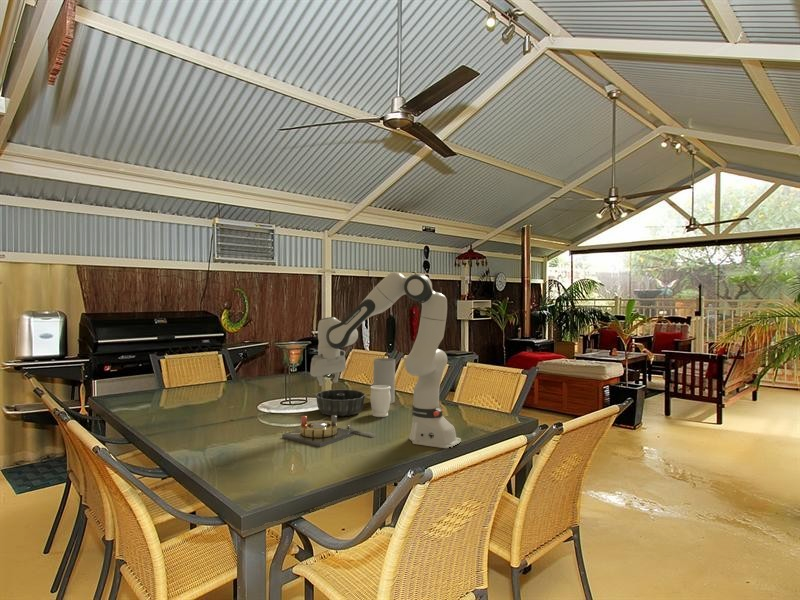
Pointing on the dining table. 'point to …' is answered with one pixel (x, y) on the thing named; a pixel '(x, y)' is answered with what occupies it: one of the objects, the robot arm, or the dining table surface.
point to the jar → (380, 400)
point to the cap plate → (318, 440)
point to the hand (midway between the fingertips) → (328, 384)
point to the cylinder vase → (385, 374)
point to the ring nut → (318, 432)
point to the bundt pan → (340, 402)
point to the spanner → (360, 432)
